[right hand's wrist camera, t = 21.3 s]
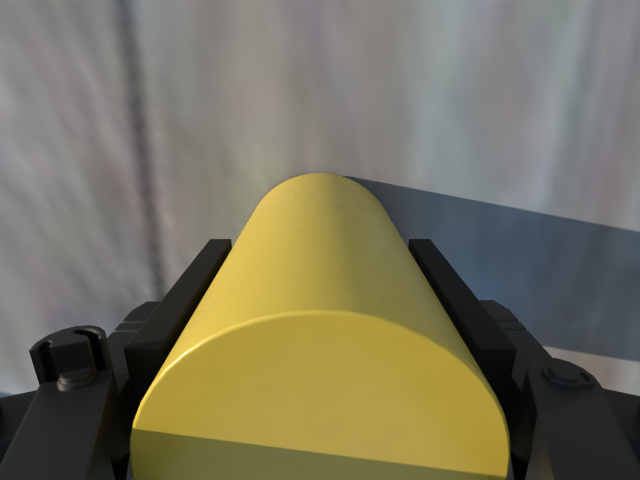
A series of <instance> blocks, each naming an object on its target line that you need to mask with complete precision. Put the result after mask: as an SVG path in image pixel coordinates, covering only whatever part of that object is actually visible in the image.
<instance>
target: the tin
mask: <svg viewBox="0 0 640 480" xmlns="http://www.w3.org/2000/svg"><path fill="white" fill-rule="evenodd" d="M510 457H511V451H510V436H509V430H508V426H507V422H506V418H505V414H504V412H503V410H502V408H501V405H500V403H499V401H498V399H497V397H496V395H495V393H494V391H493V390H492V388H491V386H490V385H489V383H488V381H487V380H486V378H485V376H484V375H483V373H482V371H481V370H480V368H479V366H478V365H477V363H476V361H475V360H474V358H473V356H472V355H471V353H470V351H469V350H468V348H467V346H466V344H465V343H464V341H463V339H462V338H461V336H460V334H459V333H458V331H457V329H456V328H455V326H454V324H453V323H452V321H451V319H450V318H449V316H448V314H447V313H446V311H445V309H444V308H443V306H442V304H441V303H440V301H439V299H438V298H437V296H436V294H435V293H434V291H433V289H432V288H431V286H430V284H429V283H428V281H427V279H426V278H425V276H424V274H423V273H422V271H421V269H420V268H419V266H418V264H417V263H416V261H415V259H414V258H413V256H412V254H411V253H410V251H409V249H408V248H407V246H406V244H405V243H404V241H403V239H402V238H401V236H400V234H399V233H398V231H397V229H396V228H395V226H394V224H393V223H392V221H391V219H390V218H389V216H388V214H387V213H386V211H385V209H384V208H383V206H382V205H381V203H380V202H379V201H378V199H377V198H376V197H375V196H374V195H373V194H372V193H371V192H370V191H369V190H367V189H366V188H365V187H363V186H362V185H360V184H359V183H357V182H355V181H353V180H351V179H348V178H346V177H342V176H339V175H334V174H328V173H313V174H306V175H301V176H297V177H295V178H292V179H289V180H287V181H285V182H283V183H281V184H280V185H278V186H277V187H275V188H274V189H273V190H271V191H270V192H269V193H268V194H267V195H266V196H265V197H264V198H263V199H262V201H261V202H260V203H259V204H258V206H257V208H256V209H255V211H254V213H253V214H252V216H251V218H250V220H249V221H248V223H247V225H246V226H245V228H244V230H243V231H242V233H241V235H240V236H239V238H238V240H237V241H236V243H235V245H234V246H233V248H232V250H231V251H230V253H229V255H228V256H227V258H226V260H225V262H224V263H223V265H222V267H221V268H220V270H219V272H218V273H217V275H216V277H215V278H214V280H213V282H212V283H211V285H210V287H209V288H208V290H207V292H206V293H205V295H204V297H203V298H202V300H201V302H200V303H199V305H198V307H197V309H196V310H195V312H194V314H193V315H192V317H191V319H190V320H189V322H188V324H187V325H186V327H185V329H184V330H183V332H182V334H181V335H180V337H179V339H178V340H177V342H176V344H175V345H174V347H173V349H172V350H171V352H170V354H169V356H168V357H167V359H166V361H165V362H164V364H163V366H162V367H161V369H160V371H159V372H158V374H157V376H156V377H155V379H154V381H153V382H152V384H151V386H150V387H149V389H148V391H147V392H146V394H145V396H144V398H143V399H142V401H141V403H140V406H139V408H138V411H137V413H136V416H135V419H134V422H133V427H132V432H131V438H130V465H131V471H132V477H133V480H507V477H508V474H509V466H510Z"/></svg>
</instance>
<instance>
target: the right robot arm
mask: <svg viewBox="0 0 640 480" xmlns="http://www.w3.org/2000/svg"><path fill="white" fill-rule="evenodd" d="M408 249H409V251H410V253H411V254H412V256H413V258H414V259H415V261H416V263H417V264H418V266H419V268H420V269H421V271H422V273H423V274H424V276H425V278H426V279H427V281H428V283H429V284H430V286H431V288H432V289H433V291H434V293H435V294H436V296H437V298H438V299H439V301H440V303H441V304H442V306H443V308H444V309H445V311H446V313H447V314H448V316H449V318H450V319H451V321H452V323H453V324H454V326H455V328H456V329H457V331H458V333H459V334H460V336H461V338H462V339H463V341H464V343H465V344H466V346H467V348H468V350H469V351H470V353H471V355H472V356H473V358H474V360H475V361H476V363H477V365H478V366H479V368H480V370H481V371H482V373H483V375H484V376H485V378H486V380H487V381H488V383H489V385H490V386H491V388H492V390H493V391H494V393H495V395H496V397H497V399H498V401H499V403H500V405H501V408H502V410H503V412H504V414H505V418H506V422H507V426H508V430H509V436H510V451H511V457H510V466H509V474H508V477H507V480H640V396H636V395H632V394H627V393H622V392H617V391H612V390H607V389H604V388H602V387H601V385H600V384H599V382H598V381H597V380H596V379H595V377H594V376H593V375H591V374H590V373H589V372H587V371H586V370H584V369H583V368H581V367H579V366H577V365H575V364H573V363H571V362H568V361H564V360H561V359H557V358H552V357H551V356H550V355H549V353H548V352H547V351H546V350H545V349H544V348H543V347H542V346H541V345H540V344H539V342H538V341H537V340H536V339H535V338H534V337H533V336H532V335H531V334H530V332H529V331H526V328H525V327H524V326H523V325H522V324H521V323H520V322H518V319H517V318H516V317H515V316H514V315H513V314H512V313H511V311H510V310H509V309H507V308H505V307H504V306H502V305H500V304H499V303H497V302H495V301H494V300H478V299H477V298H476V297H475V295H474V294H473V293H472V292H471V290H470V289H469V288H468V287H467V285H466V284H465V283H464V281H463V280H462V279H461V278H460V276H459V275H458V274H457V273H456V271H455V270H454V269H453V268H452V266H451V265H450V264H449V263H448V261H447V260H446V259H445V258H444V256H443V255H442V254H441V253H440V251H439V250H438V249H437V248H436V246H435V245H434V244H433V242H432V241H431V240H430V239H409V247H408ZM231 250H232V244H231V239H210V240H209V242H208V243H207V244H206V245H205V247H204V248H203V249H202V250H201V252H200V253H199V254H198V255H197V257H196V258H195V259H194V260H193V262H192V263H191V264H190V265H189V267H188V268H187V269H186V271H185V272H184V273H183V274H182V276H181V277H180V278H179V279H178V281H177V282H176V283H175V284H174V286H173V287H172V288H171V289H170V291H169V292H168V293H167V294H166V296H165V297H164V298H163V299H162V301H161V302H146V303H144V304H142V305H141V306H139V307H137V308H136V309H134V310H132V311H131V312H130V313H129V314H128V316H127V317H126V318H125V319H124V320H123V321H122V323H120V325H119V326H118V327H117V328H116V329H115V331H114V332H112V333H111V335H110V336H109V337H108V338H106V333H105V331H104V330H103V329H101V328H100V327H96V326H90V325H88V326H75V327H71V328H67V329H63V330H60V331H58V332H55V333H53V334H50V335H48V336H46V337H45V338H43V339H41V340H40V341H38V342H37V343H36V344H35V345H34V346H33V347H32V348H31V349H30V350H29V352H30V355H31V359H32V362H33V365H34V368H35V372H36V375H37V378H38V381H39V384H40V386H39V388H38V390H36V391H32V392H27V393H22V394H17V395H12V396H7V397H3V398H0V480H132V471H131V465H130V438H131V432H132V427H133V422H134V419H135V416H136V413H137V411H138V408H139V406H140V403H141V401H142V399H143V398H144V396H145V394H146V392H147V391H148V389H149V387H150V386H151V384H152V382H153V381H154V379H155V377H156V376H157V374H158V372H159V371H160V369H161V367H162V366H163V364H164V362H165V361H166V359H167V357H168V356H169V354H170V352H171V350H172V349H173V347H174V345H175V344H176V342H177V340H178V339H179V337H180V335H181V334H182V332H183V330H184V329H185V327H186V325H187V324H188V322H189V320H190V319H191V317H192V315H193V314H194V312H195V310H196V309H197V307H198V305H199V303H200V302H201V300H202V298H203V297H204V295H205V293H206V292H207V290H208V288H209V287H210V285H211V283H212V282H213V280H214V278H215V277H216V275H217V273H218V272H219V270H220V268H221V267H222V265H223V263H224V262H225V260H226V258H227V256H228V255H229V253H230V251H231Z"/></svg>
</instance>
